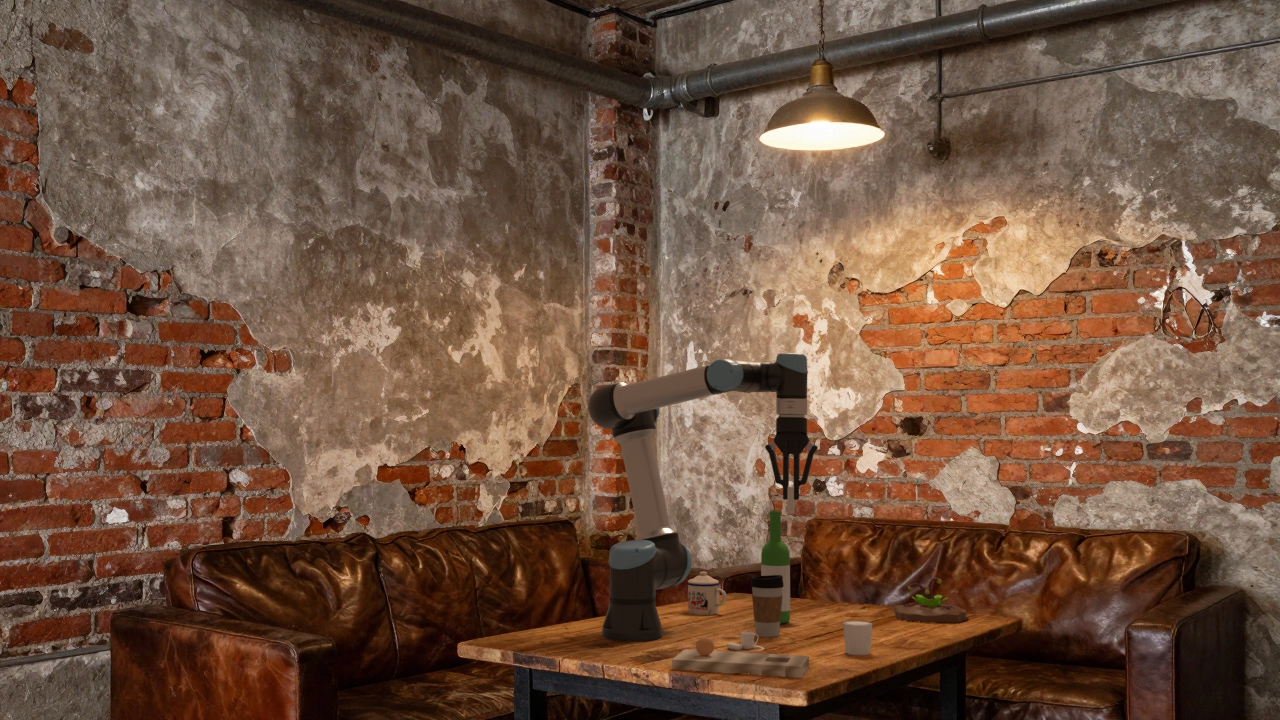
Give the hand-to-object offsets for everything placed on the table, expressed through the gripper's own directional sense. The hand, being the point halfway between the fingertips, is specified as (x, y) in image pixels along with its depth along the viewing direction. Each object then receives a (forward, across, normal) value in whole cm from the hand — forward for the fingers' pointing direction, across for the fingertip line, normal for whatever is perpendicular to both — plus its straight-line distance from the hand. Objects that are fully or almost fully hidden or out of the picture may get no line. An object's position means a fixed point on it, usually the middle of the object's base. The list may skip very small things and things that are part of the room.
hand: (790, 513), depth 281 cm
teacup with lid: (+33, -28, +43) cm, 60 cm away
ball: (+27, -16, -30) cm, 44 cm away
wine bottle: (+32, -7, +34) cm, 47 cm away
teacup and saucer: (+32, -12, -6) cm, 35 cm away
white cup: (+32, +16, -5) cm, 36 cm away
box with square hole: (+32, -8, -30) cm, 45 cm away
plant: (+32, +34, +53) cm, 71 cm away
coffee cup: (+32, -7, +12) cm, 35 cm away
